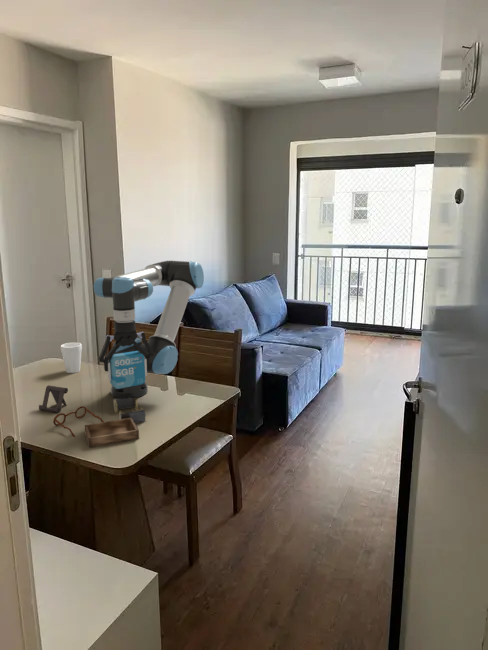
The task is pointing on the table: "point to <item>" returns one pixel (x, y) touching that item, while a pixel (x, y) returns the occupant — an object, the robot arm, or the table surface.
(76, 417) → the glasses
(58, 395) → the portable electronic device stand
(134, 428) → the tray
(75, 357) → the foam cup
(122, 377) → the data package
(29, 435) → the table surface
